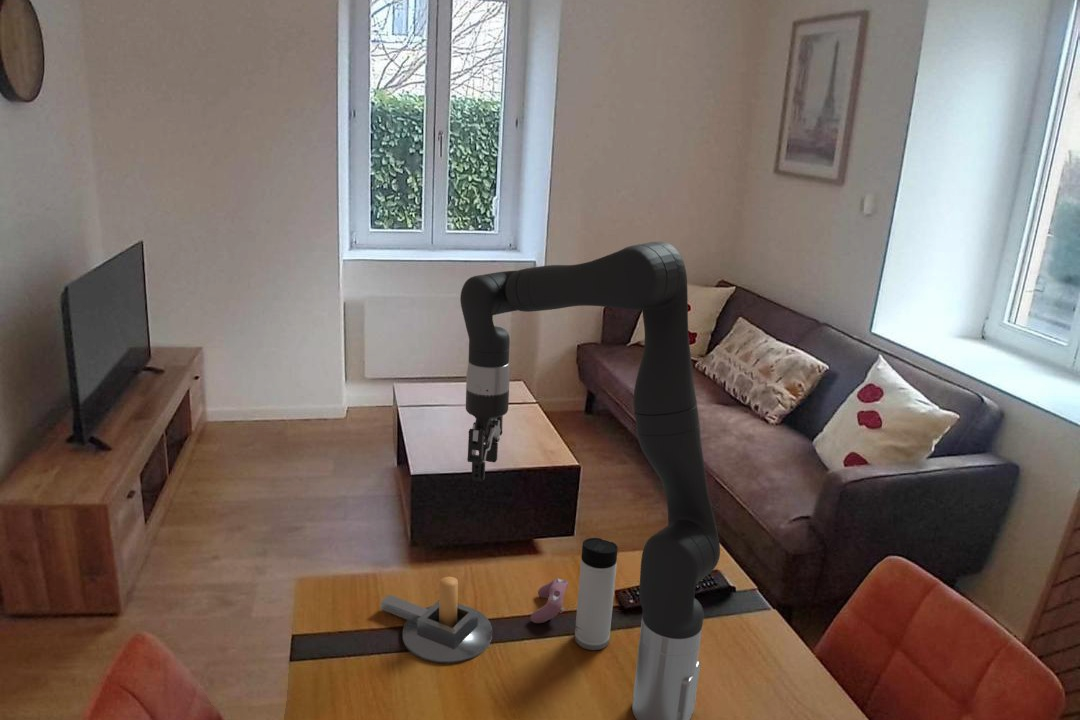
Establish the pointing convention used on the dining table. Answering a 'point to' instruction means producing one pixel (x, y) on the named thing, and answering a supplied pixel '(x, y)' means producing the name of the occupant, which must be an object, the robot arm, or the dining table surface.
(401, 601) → the grey handled frame
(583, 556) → the travel mug
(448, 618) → the wedge pin
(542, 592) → the video game controller
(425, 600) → the dining table surface
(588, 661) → the dining table surface
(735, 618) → the dining table surface
